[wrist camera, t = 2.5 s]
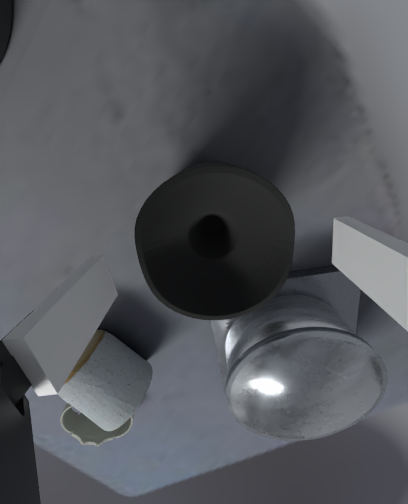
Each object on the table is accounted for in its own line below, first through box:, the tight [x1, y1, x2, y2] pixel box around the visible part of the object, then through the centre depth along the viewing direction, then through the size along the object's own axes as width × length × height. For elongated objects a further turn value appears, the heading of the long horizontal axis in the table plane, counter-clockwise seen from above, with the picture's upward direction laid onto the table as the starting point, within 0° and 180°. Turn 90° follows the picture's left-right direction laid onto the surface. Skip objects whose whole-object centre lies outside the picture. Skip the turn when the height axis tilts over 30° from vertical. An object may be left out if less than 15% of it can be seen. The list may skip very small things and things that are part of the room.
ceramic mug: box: [58, 330, 152, 431], centre depth 27 cm, size 11×8×8 cm
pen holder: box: [135, 162, 295, 320], centre depth 18 cm, size 9×9×10 cm
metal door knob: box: [210, 266, 387, 441], centre depth 26 cm, size 18×16×7 cm
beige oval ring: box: [60, 403, 134, 446], centre depth 31 cm, size 9×6×5 cm
